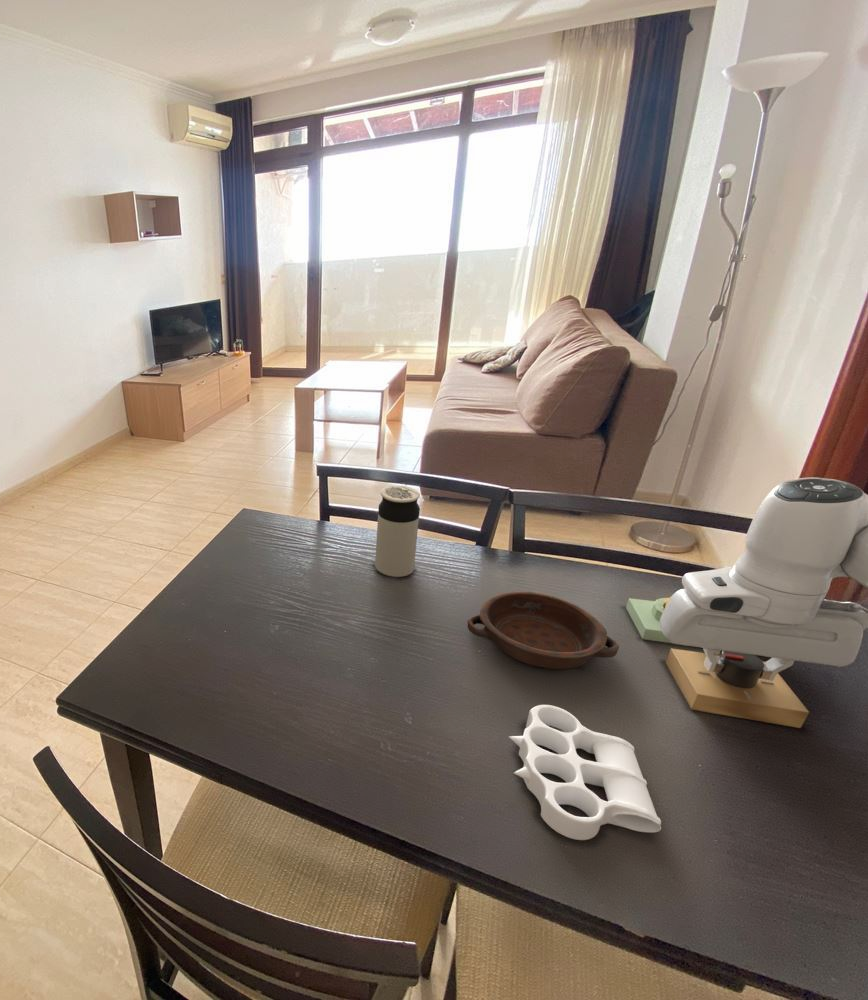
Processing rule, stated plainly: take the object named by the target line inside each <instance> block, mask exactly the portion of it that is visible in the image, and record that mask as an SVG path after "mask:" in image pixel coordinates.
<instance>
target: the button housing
mask: <svg viewBox="0 0 868 1000" xmlns="http://www.w3.org/2000/svg"><path fill="white" fill-rule="evenodd" d="M668 598H669V597H662V598H657V599H656V600H647V599H639V598H638V599H637V598H628V600H627V603H626V607H625V609H626V612H627V613H628V615H629V616H630V618H631V621H632V622H633V623H634V626H635V628H636V630H637V632H638V633H639V636H640V637H641V639H642V640H645V641H654V642H660V643H667V644H672V643H671V642H669V641H668V639H667V638H666V637H665V636H664V634H663V633H662V631H661V629H660V626H659V622H660V619H661V616H662V613H663V611H664V609H665V605H666V602H667V600H668Z"/></svg>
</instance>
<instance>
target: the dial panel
mask: <svg viewBox="0 0 868 1000" xmlns="http://www.w3.org/2000/svg"><path fill="white" fill-rule="evenodd" d="M714 656H718V657H721V654H718V655H717V654H714ZM705 658H706V654H705V652H698V651H693V650H684V649H679V648H678V649H677V648H670V650H669V653H668V655H667V658H666V661H665V665H666V666H667V668H668V670H669V672H670V674H671V675H672V677H673V679H674V681H675V682H676V685H677V686H678V688H679V689H680V691H681V693H682V695H683V697H684V698H685V700H686V702H687V704H688V706H689V708H690V710H694V711H697V712H698V711H699V712H704V713H711V714H715V715H721V716H726V717H733V718H739V719H743V720H744V719H746V720H751V721H757V722H762V723H768V724H773V725H774V724H775V725H780V726H786V727H791V728H797V729H802V727H803V725H804V723H805V721H806V719H807V717H809V713H810V711H809V710H808V709H807V707H806V706H805V705H804V703H802V701H801V700H800V699H799V697H798V696H797V695H796V694H795V692H794V691H793V689H791V687H790V686H789V685H788V683H787V682H786V681H785V680H784V678H783V677H782V676H781V675H780V673H779V672H777V674H776V676H775V678H774V680H773V681H771V680H765V679H758V681H757V683H756V685H755V687H753V688H739V687H736V686H733V685H730V684H728V683H726V682H724V681H723V680H721V679H720V678H719V677H718V676H717V675H716V674H715V672H712V671H707V669H706V668H705V666H704V661H705ZM762 662H763V663H765V662H766V661H763V660H762Z"/></svg>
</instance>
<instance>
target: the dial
mask: <svg viewBox="0 0 868 1000" xmlns="http://www.w3.org/2000/svg"><path fill="white" fill-rule="evenodd" d="M720 655H721V657H720V659H721V661H722V662H723V663H724V668H723V669H721V670H722V672H721V673H718V672H715V674H716V675H717V676H718V677H719V678H720V679H721V680H723V681H724V682H726V683H728V684H730V685H733V686H736V687H739V688H753V687H755V685H756V683H757V681H758V679H759V677H760V675H761V673H762V671H763V668H764V663H763V662H764V661H763V660H762V659H761V658H759V657H758V656H757V655H752V654H745V653H737V652H730V651H723V650H722V652H721V654H720ZM762 661H763V662H762Z"/></svg>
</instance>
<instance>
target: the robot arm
mask: <svg viewBox="0 0 868 1000" xmlns="http://www.w3.org/2000/svg"><path fill="white" fill-rule="evenodd" d="M744 544H745V547H744V549H743V550H744V551H743V552H742V554H741V555H740V556H739V557H738V558H737V559H736V561H734V565H733V566H727V567H721V568H717V569H709V570H701V571H691V572H687V573H685V574H684V575H683V576H682V577H681V584H682V587H683V588H681V589H678V590H677V591H675V592H674V593H672V595H671V596H670V597H671V598H670V600H669V601H668V603H667V605H666V607H665V609H664V611H663V613H662V616H661V619H660V622H659V626H660V629H661V631H662V633H663V634H664V636H665V637H666V638H667V639H668V641H669V642H671V643H670V644H674V645H682V646H687V647H688V646H689V647H696V648H702V650H703V653H705V654H706V658H705V661H704V666H705V668H706V669H707V671H712V672H718V673H721V672H722V670H721V669H723V668H724V663H723V662H722V661H721V659H720V657H718V656H714V655H721V654H720V653H721V651H722V652H723V651H730V652H737V653H745V654H752V655H755V656H760V657H765V658H766V657H767V658H770V659H768V660H767V661H764V662H765V663H764V668H763V671H762V673H761V675H760V677H759V679H765V680H771V681H773V680H774V678H775V676H776V674H777V672H778V673H780V672H783V671H785V670H786V669H788V668H790V667H792V666H793V665H794V663H795V662H803V663H808V664H809V663H810V664H816V665H824V666H830V667H831V666H832V667H837V668H838V667H839V668H844V667H846V666H848V665H851V664H853V663H854V662H855V661H856V659H857V656H858V654H859V652H860V649H861V646H862V642H863V637H864V631H865V630H866V629H867V628H868V608H866V607H864V606H862V605H861V604H860V603H857V602H852V601H838V600H832V599H825V598H826V595H827V594H828V591H829V590H830V587H831V583H832V581H833V580H834V579H835V578H850V579H852V580H853V581H854V582H857V583H858V584H860V585H862V586H863V587H865V588H866V589H868V494H867V493H866V492H864V491H863V490H862V488H860V487H859V486H857V485H855V484H852V483H850V482H847V481H843V480H839V479H833V478H826V477H825V478H824V477H801V478H794V479H789V480H785V481H783V482H781V483H779V484H777V485H776V486H775V487H773V488H772V489H771V490H770V492H769V493H767V495H766V496H765V497H764V498H763V500H762V502H761V503H760V504H759V507H758V508H757V510H756V512H755V514H754V516H753V518H752V520H751V522H750V525H749V527H748V530H747V532H746V535H745V540H744Z"/></svg>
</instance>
